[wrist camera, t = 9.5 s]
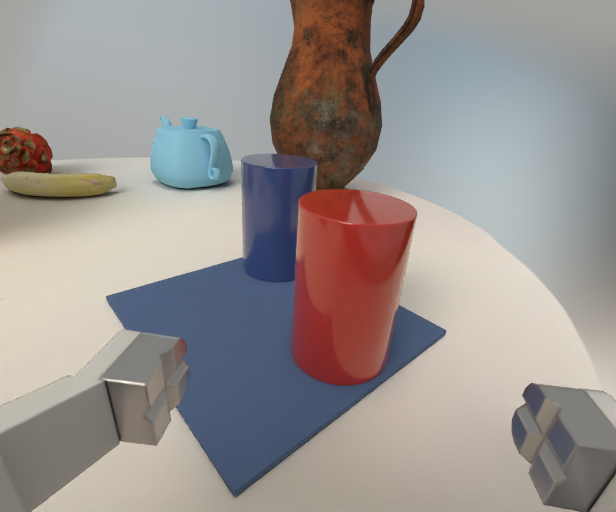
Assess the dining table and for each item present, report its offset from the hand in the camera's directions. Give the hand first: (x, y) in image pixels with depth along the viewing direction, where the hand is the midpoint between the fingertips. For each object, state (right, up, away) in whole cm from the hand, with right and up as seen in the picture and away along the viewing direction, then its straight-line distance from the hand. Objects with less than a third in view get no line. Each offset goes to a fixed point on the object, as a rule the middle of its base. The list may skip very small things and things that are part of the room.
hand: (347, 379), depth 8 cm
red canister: (+1, -3, +15) cm, 15 cm away
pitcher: (+2, +12, +48) cm, 49 cm away
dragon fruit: (-48, +16, +50) cm, 71 cm away
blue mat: (-4, -2, +18) cm, 19 cm away
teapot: (-22, +16, +54) cm, 60 cm away
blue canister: (-4, +2, +25) cm, 25 cm away
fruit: (-37, +12, +43) cm, 59 cm away
